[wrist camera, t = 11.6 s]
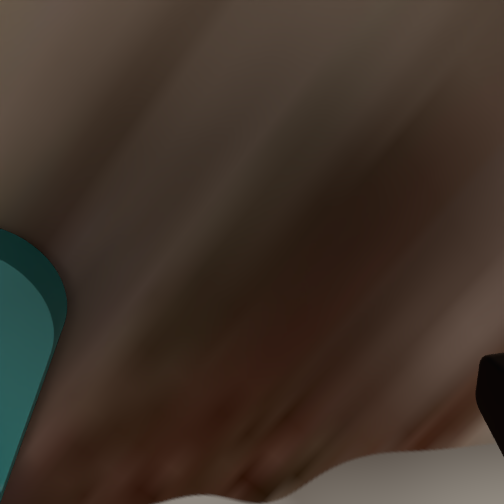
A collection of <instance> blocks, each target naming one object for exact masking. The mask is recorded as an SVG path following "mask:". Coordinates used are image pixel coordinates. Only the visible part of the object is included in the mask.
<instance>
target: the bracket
mask: <svg viewBox="0 0 504 504" xmlns="http://www.w3.org/2000/svg"><path fill="white" fill-rule="evenodd" d="M66 314H67V298H66V293H65V289H64V286H63V283H62V280H61V278H60V276H59V274H58V273H57V271H56V269H55V268H54V266H53V265H52V264H51V263H50V261H49V260H48V259H47V258H46V257H45V256H44V255H43V254H42V253H41V252H40V251H39V250H38V249H37V248H35V247H34V246H33V245H31V244H30V243H28V242H27V241H25V240H24V239H22V238H20V237H19V236H17V235H15V234H13V233H10V232H8V231H6V230H3V229H0V502H1V499H2V496H3V493H4V491H5V488H6V485H7V482H8V479H9V477H10V474H11V471H12V468H13V465H14V463H15V460H16V457H17V454H18V452H19V449H20V446H21V443H22V440H23V438H24V435H25V432H26V429H27V426H28V424H29V421H30V418H31V415H32V412H33V410H34V407H35V404H36V401H37V398H38V396H39V393H40V390H41V387H42V384H43V382H44V379H45V376H46V373H47V370H48V368H49V365H50V362H51V359H52V356H53V354H54V351H55V348H56V345H57V343H58V340H59V337H60V334H61V331H62V329H63V326H64V323H65V319H66Z"/></svg>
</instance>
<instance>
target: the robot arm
mask: <svg viewBox="0 0 504 504" xmlns="http://www.w3.org/2000/svg"><path fill="white" fill-rule="evenodd" d="M476 402H477V405H478V408H479V410H480V412H481V414H482V416H483V418H484V420H485V422H486V423H487V425H488V427H489V429H490V431H491V433H492V435H493V437H494V439H495V441H496V443H497V445H498V447H499V449H500V450H501V452H502V454H503V456H504V353H498V354H491V355H486V356H484V357H482V359H481V360H480V364H479V371H478V378H477V386H476Z"/></svg>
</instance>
